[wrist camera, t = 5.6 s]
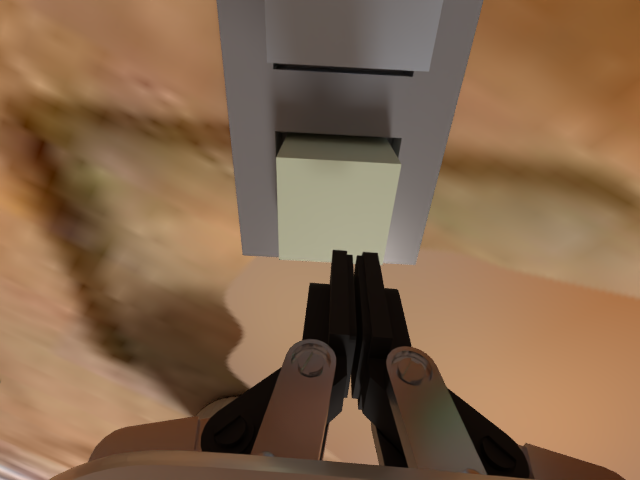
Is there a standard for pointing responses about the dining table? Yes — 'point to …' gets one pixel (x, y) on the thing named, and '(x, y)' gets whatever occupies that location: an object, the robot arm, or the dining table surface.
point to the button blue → (353, 33)
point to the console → (339, 118)
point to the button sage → (334, 195)
